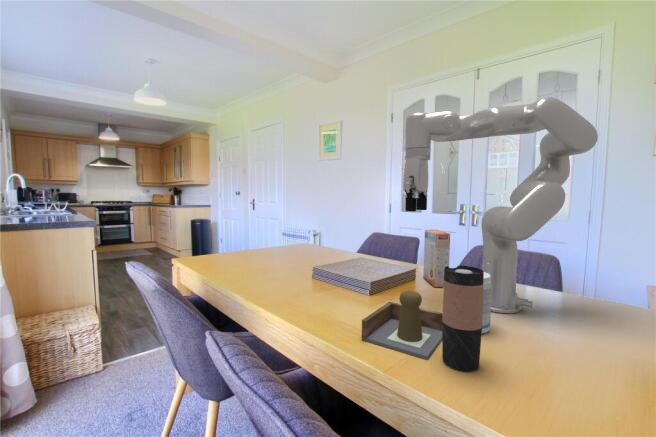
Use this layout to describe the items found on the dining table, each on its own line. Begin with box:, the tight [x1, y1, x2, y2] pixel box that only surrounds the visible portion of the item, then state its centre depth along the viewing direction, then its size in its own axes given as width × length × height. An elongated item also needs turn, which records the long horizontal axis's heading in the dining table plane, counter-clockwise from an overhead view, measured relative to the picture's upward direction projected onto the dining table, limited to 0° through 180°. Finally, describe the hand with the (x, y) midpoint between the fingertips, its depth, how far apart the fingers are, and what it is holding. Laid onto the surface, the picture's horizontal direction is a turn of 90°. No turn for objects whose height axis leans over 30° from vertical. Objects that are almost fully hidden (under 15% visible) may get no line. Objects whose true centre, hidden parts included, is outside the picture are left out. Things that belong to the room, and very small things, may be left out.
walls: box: [361, 301, 443, 342], centre depth 78 cm, size 16×16×5 cm
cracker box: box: [422, 229, 451, 288], centre depth 125 cm, size 14×6×21 cm, turn 179°
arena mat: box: [362, 319, 442, 361], centre depth 78 cm, size 16×16×1 cm
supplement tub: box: [482, 272, 492, 334], centre depth 83 cm, size 10×10×15 cm
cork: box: [397, 290, 423, 342], centre depth 76 cm, size 6×6×11 cm
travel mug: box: [441, 265, 484, 373], centre depth 66 cm, size 8×8×20 cm
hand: (416, 210), depth 98 cm, fingers open, 9 cm apart
